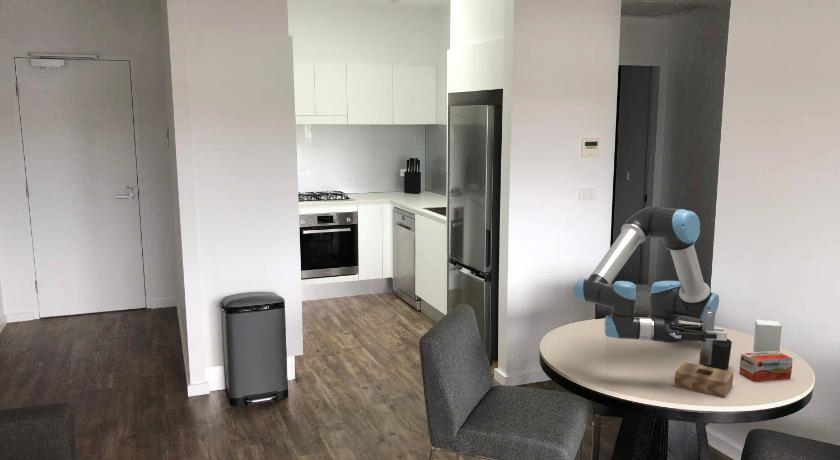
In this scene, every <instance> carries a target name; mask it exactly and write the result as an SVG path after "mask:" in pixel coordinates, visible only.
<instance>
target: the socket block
mask: <svg viewBox="0 0 840 460" xmlns="http://www.w3.org/2000/svg"><path fill="white" fill-rule="evenodd" d="M733 382H734V371H730V370H727V369H726V370H721V369H716V368H711V367H707V366H704V365H703V364H698V363H697V364H696V363H691V362H687V361H684V362H683V363H682V364H681V365H680V366H679V367H678V368H677V369H676V371H675V372H674V384H673V386H674V387H677V388H681V389H686V390H690V391H694V392H698V393H702V394H703V393H704V394H708V395H711V396H716V397H719V398H720V397H721V398H726V396H727V394H728V393H729V391H730V390H731V389H732V387H733Z"/></svg>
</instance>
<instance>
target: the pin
mask: <svg viewBox="0 0 840 460" xmlns="http://www.w3.org/2000/svg"><path fill="white" fill-rule="evenodd" d="M715 320H716V314H715V312H714V311H711V310H704V315H703V321H702V325H703V326H702V331H703V332H706V331H714V328H715ZM712 345H713V340H709V339H706V342H704V341H700V347H699V348H700V349H699V362H698V363H699V365H702V366H704V365H710V364H711V356H712Z"/></svg>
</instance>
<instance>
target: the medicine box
mask: <svg viewBox="0 0 840 460" xmlns="http://www.w3.org/2000/svg"><path fill="white" fill-rule="evenodd" d="M792 370H793V357H791V356H789V355H786V354H785V353H782V352H778V351H765V352H753V351H752V352H741V353H740V359H739V374H740V375H741V376H743V377H745V378H747V379H749V380H750V381H752V382H765V381H767V382H768V381H777V380H778V381H781V380H791V376H792V372H793V371H792Z"/></svg>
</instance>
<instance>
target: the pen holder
mask: <svg viewBox="0 0 840 460" xmlns="http://www.w3.org/2000/svg"><path fill="white" fill-rule="evenodd" d="M732 343H733V341H732V340H730V339H729V338H727V341H723V340H713V345H712V356H711V364H710V365H703V366H707V367H711V368H716V369H721V370H726V371H727V370H728V369H729V366H730V365H729V364H730V359H731V351H732Z"/></svg>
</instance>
